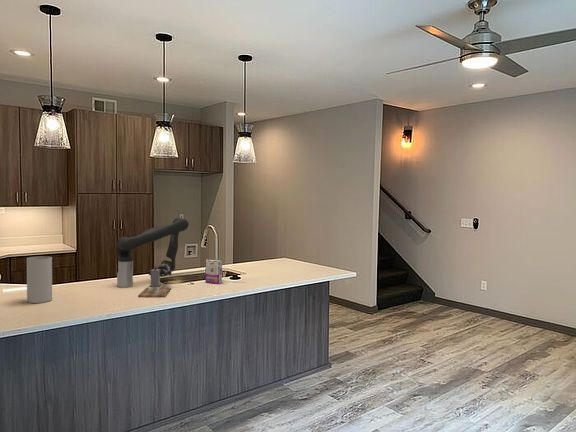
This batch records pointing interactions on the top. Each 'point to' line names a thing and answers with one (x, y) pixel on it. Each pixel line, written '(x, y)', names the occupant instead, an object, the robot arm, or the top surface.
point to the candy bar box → (213, 271)
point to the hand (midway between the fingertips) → (158, 274)
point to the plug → (155, 277)
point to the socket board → (154, 292)
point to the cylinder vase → (39, 279)
